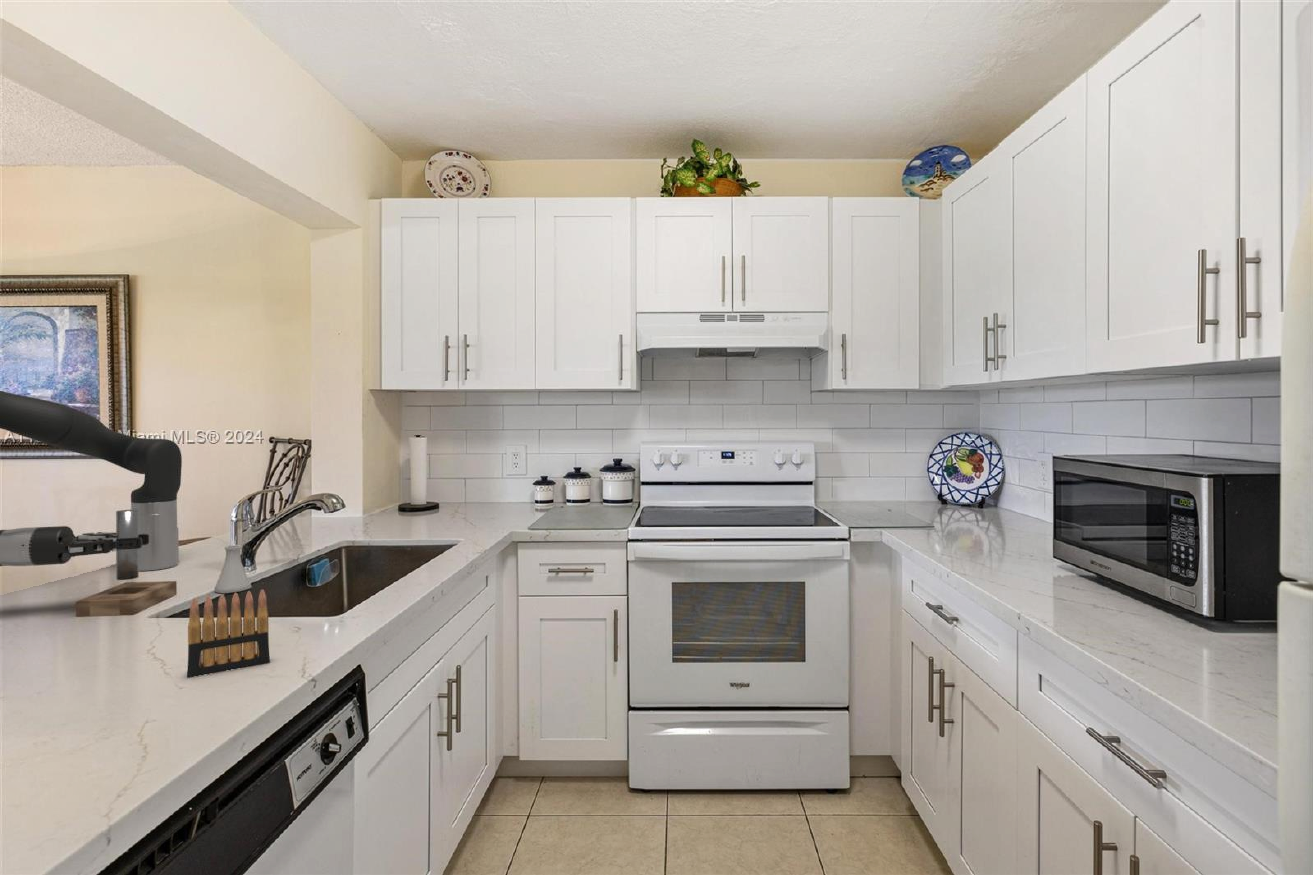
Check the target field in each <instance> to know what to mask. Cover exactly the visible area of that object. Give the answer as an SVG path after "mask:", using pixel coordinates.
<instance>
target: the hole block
mask: <svg viewBox="0 0 1313 875" xmlns="http://www.w3.org/2000/svg"><path fill="white" fill-rule="evenodd" d="M177 582H178V581H177V580H171V581H170V580H168V581H166V580H165V581H163V580H162V581H161V580H160V581H130V582H129V581H125V582H123V583H120V584H118V585H114V586H113V587H110V588H107V589H105V590H101V591H100V592H98V593H94V594H92V595H89V596H86V597H84V598H81V599H78V600H75V617H78V618H79V617H103V616H104V617H105V616H133V615H136V614H138V613H140V612H142V611H145V610H147V609H149V608H150V607H153V606H155V605H157V604H160V603H162V602H163V601H166V600H168V599H171V598H172V597H174V596H173V595H175V596H176V594H178V592H177V590H178V588H177V584H178V583H177Z"/></svg>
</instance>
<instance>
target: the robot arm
mask: <svg viewBox="0 0 1313 875" xmlns="http://www.w3.org/2000/svg"><path fill="white" fill-rule="evenodd" d="M0 429H2V430H4V431H8V432H10V433H13V434H16V435H19V436H21V437H24V438H29V439H31V440H34V441H36V442H39V443H42V444H45V445H49V446H53V447H55V448H58V449H62V450H65V451H69V452H74V453H77V454H82V455H85V456H90V457H93V458H94V457H95V458H98V459H100V460H104V461H107V462H109V463H111V464H113V465H116V466H117V467H120V468H123V469H124V470H127V471H130V472H132V473H135V474H139V475H144V480H143V484H142V485H141V486H139V487H138V488H136V489H134V490H132V491H131V492H130V510H138V538H119V539H118V538H116V532H106V531H105V532H103V531H98V532H96V533H94V532H84V533H82V534H79V535H75V534H74V531H73V528H71V527H69V526H67V525H59V526H38V527H37V526H35V527H31V526H30V527H18V528H12V529H10V528H9V529H0V567H31V566H32V567H34V566H50V565H51V566H52V565H64V564H67V563H68V562H69V561H70V560H71V559H72V558H75V557H80V556H81V557H82V556H90V555H101V554H109V553H111V552H116V551H117V550H122V549H138V555H139V572H140V571H141V572H144V571H147V572H148V571H156V570H157V571H158V570H163V569H169V568H172V567H175V566H177V565H178V564H179V563H180V557H179V556H180V555H179V551H180V549H179V544H180V543H179V541H180V540H179V527H178V509H177V508H178V497H177V496H178V493H179V490H180V488H181V484H182V466H183V465H182V464H183V462H182V461H183V460H182V459H183V458H182V457H183V456H182V452H181V448H180V446H179V445H178V444H177V443H176V442H175V441H173V440H170V439H165V438H144V437H143V438H141V437H136V436H132V435H127V434H124V433H120V432H118V431H114V430H113V429H110V428H109V427H107V426H106V425H105V424H104V423H103V422H101V421H100V420H99V419H97V418H96V417H94V416H93V415H92V414H91V415H90V414H89V413H87V412H84V411H82V410H79V409H76V408H74V407H71V406H69V405H66V404H63V403H58V402H55V401H50V400H48V399H47V400H46V399H41V398H36V397H31V396H26V395H21V394H16V393H11V392H6V391H4V390H0Z"/></svg>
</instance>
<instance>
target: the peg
mask: <svg viewBox="0 0 1313 875" xmlns="http://www.w3.org/2000/svg"><path fill="white" fill-rule="evenodd" d="M115 520H116V521H115V533H116V538H118V539H119V538H138V510H131V509H121V510H116V511H115ZM115 552H116V553H115V556H116V557H115V558H116V559H115V564H116V565H115V566H116V568H115V571H116V572H115V573H116V574H115V575H116V580H117V581H126V580H127V581H128V580H132V579H133V580H134V579H138V578H139V576H140V575H139V574H140V573H139V572H140V571H139V555H138V549H122V550H117V551H115Z"/></svg>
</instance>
